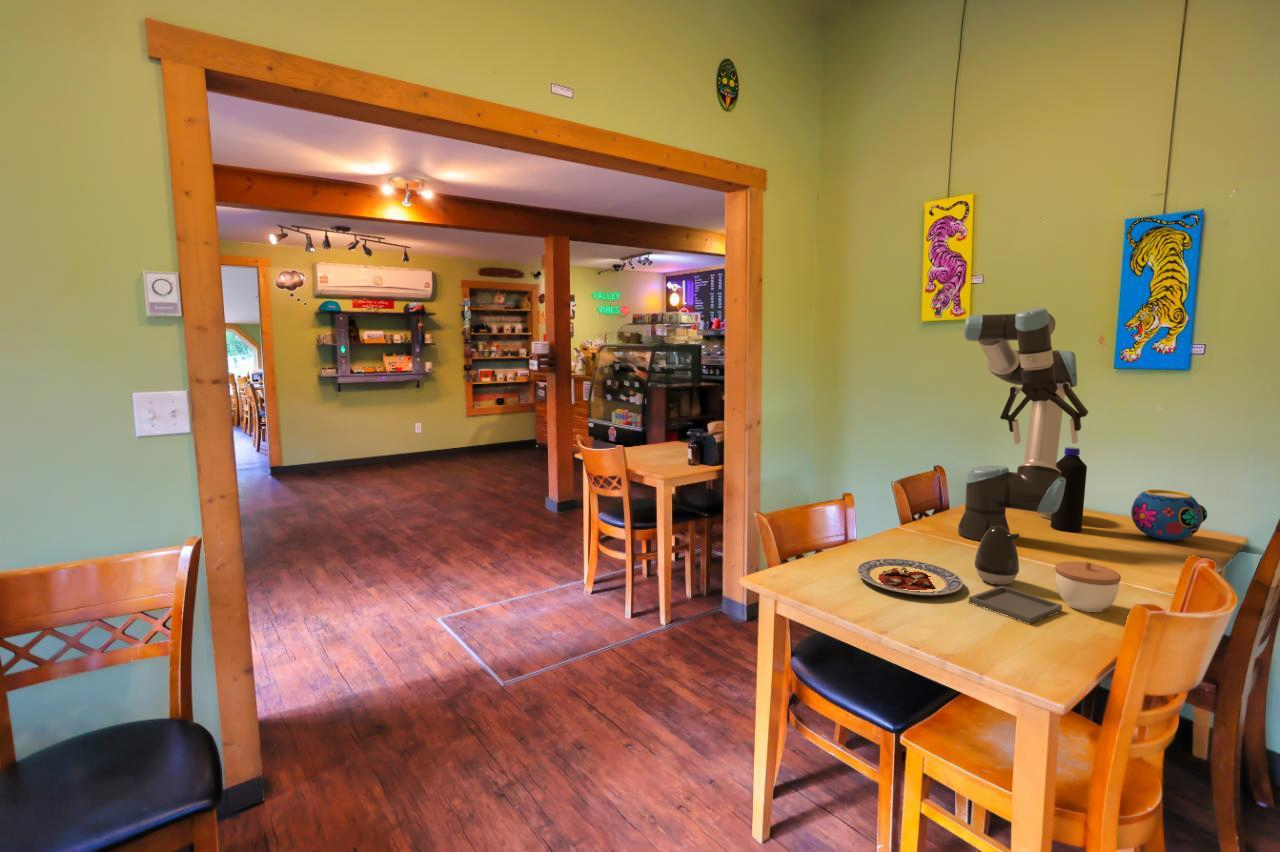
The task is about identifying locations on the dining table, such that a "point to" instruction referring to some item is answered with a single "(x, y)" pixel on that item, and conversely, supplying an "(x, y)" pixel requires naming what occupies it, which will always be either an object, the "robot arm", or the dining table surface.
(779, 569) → the dining table surface
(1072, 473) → the bottle
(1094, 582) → the lidded bowl
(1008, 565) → the pump dispenser
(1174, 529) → the ceramic pot
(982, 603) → the tray
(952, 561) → the dining table surface
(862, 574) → the ceramic plate
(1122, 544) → the dining table surface
